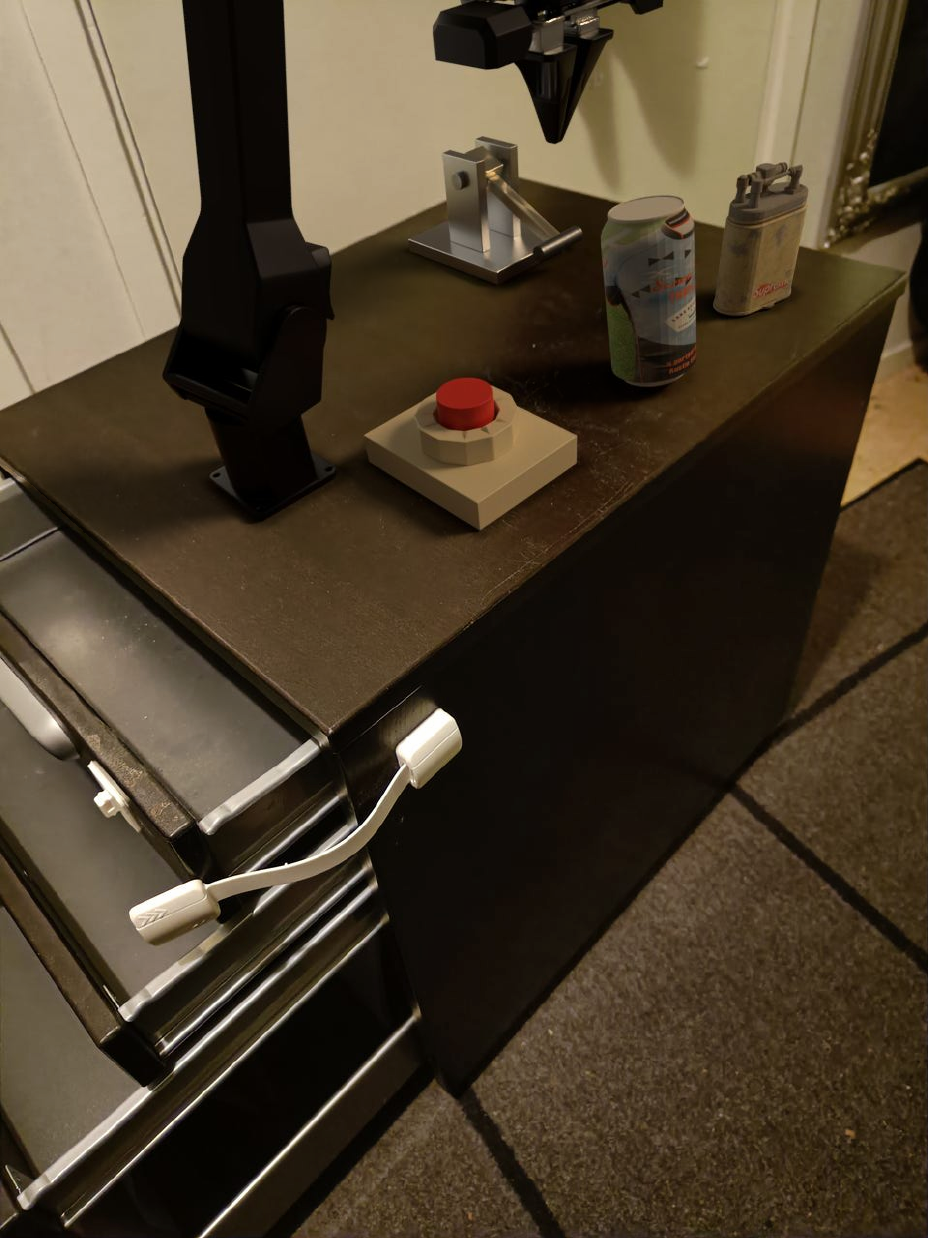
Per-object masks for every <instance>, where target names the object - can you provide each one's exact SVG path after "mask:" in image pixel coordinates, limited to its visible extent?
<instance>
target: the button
mask: <svg viewBox="0 0 928 1238" xmlns="http://www.w3.org/2000/svg"><path fill="white" fill-rule="evenodd" d="M491 386H492V385H491V384H490V383H489V382H487V381H485V380H483V379H481V378H476V377H460V378H454V379H452V380H449V381H447V382H445V383H443V384H441V386H440V387H439V388H438V389H437V390H436V392H435V393H436V402H437V410H438V418H439V422H440V424H441V425H442V426H443V427H445V428H446V429H448V430H456V431H468V430H473V429H478V428H482V427H484V426H486V425H487V424H489V423H491V422H492V420H493V418H494V401H493V389H492V387H491Z"/></svg>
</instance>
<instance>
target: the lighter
mask: <svg viewBox="0 0 928 1238" xmlns="http://www.w3.org/2000/svg"><path fill="white" fill-rule="evenodd" d="M803 171H804V167H803V164H798V165H795V166H791V167H789V165H788V163H787V162H786V161H785V162H779V163H776V164H774V163H770V162H764V163H763V162H762V163H760V164H758V165H756V166H755V172H751V173H748V174H741V175H739V176H738V177H737V178H736V183H735V184H736V185H735V187H736V193H735V197H734V198H733V199H732V201H731V202H730V203H729V206H728V214H727V216H726V218H725V222H724V229H723V236H722V237H723V238H722V243H721V252H720V257H719V266H718V274H717V281H716V288H715V295H714V296H715V297H714V300H713V303H712V307H713V309H714V310H715V311H716V312H717V313H720V314H723V315H726V316H732V317H733V316H735V317H740V316H741V317H742V316H747V315H750V314H753V313H754V312H757V311H759V310H768V309H771V308H773V307H774V306H775V303H778V302H780V301H782V300H785V299H787V298H789V297H790V296H791V293H792V283H793V278H794V273H795V270H796V264H797V261H798V260H797V258H798V255H799V250H800V246H801V245H800V244H801V241H802V236H803V230H804V226H805V219H806V216H807V210H808V204H807V202H808V196H809V188H808V187H807V186H806V185H805V184H803V183H800V181H801V177H802V175H803ZM786 176H788V177H790V181H782V182H775V181H776V180H778V179H781V178H784V177H786ZM774 182H775V183H774ZM749 187H750V190H749V192H748V193H747V189H748V188H749Z"/></svg>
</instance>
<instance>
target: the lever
mask: <svg viewBox="0 0 928 1238" xmlns="http://www.w3.org/2000/svg"><path fill="white" fill-rule="evenodd" d="M464 154H467V155H471V156H474V157H478V158H481V159H484V160H485V174H486V190H487V193H488V192H491V193H492V194H493V195H495V196H496V197H497V198H498V199H499V200H500V201H501V202H502V203H503V204H504V205H505V206H506V207H507V208H508V209H509V210H510V211H511V212H512V213H513V214H515V215H516V216H517V217H518V218H519V219H520V222H522V223H524V224H525V225H526V226H527V227H528V228H529V229H530V230H531V231H532V232H534V233H535V234H536V235H537V236H538V237H539V238H540V239H541V240H542V241H543V242H542V243H540V244H538V245H536V246H535V247H534V248H533V256H534V258H535V259H536V260H537V261H539V262H540V263H542V262H544V261H546V260H548V259H549V258H551V257H553V256H555V255H557V254H559V253H561V252H562V250H563V251H564V249H565V250H566V249H568V248H569V247H571V246H574V245H576V244H577V243H579V242H581V241H582V239H583V231H582V229H581V227H580V226H578V225H573V226H572V227H569V228H567V229H566V230H564V231H561V232H559V231H558V230H557V229H556V228H555V227H554V226H553V225H551V223H550V222H548V221H547V220H546V218H544V217H543V216H542V215H541V214H540V213H539V212H538V211H537V210H536V209H535V208H533V206H532V205H530V203H528V202H527V201H526V200H525V199H524V197H522V196H521V195H520V193H519V194H517V193H516V192H515V191H514V190H513V189H512V188H511V187H510V186H509V185H508V184H507V183H506V182H505V181H504V180H503V179H502V178H500V175H501V172H502V168H503V164H502V163H501V162H500V161H499V160H498V159H496V158H495V157H494V156H493V155H492V154H491V153H490V152H489V151H488V150H487V149H486V148H485V147H484V146H480V147H477V148H475V147H474V148H473V149H470V150H468V151H466V152H464ZM560 251H561V252H560ZM558 252H559V253H558ZM556 253H557V254H556ZM554 254H555V255H554ZM547 258H548V259H547ZM545 259H546V260H545ZM543 260H544V261H543ZM541 261H542V262H541Z"/></svg>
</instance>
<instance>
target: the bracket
mask: <svg viewBox="0 0 928 1238" xmlns="http://www.w3.org/2000/svg"><path fill="white" fill-rule="evenodd" d="M480 146H484V147H485V148H486V149H487V150H488V151H489V152H490V153H491V154H492V155H493V156H494V157H495V158H496V159H498V160H499V161H500V162H501V163H502V164H503V168H502V172H501V175H500V178H502V179H503V180H504V181H505V182H506V183H507V184H508V185H509V186H510V187H511V188H512V189H513V190H514V191H515V192H516V193H517V194H519V195H520V176H519V175H520V174H519V148H518V144H515V143H512V142H507V141H504V140H500V139H496V138H493V137H488V136H483V135H482V136H479V137H477V138H475V139H474V149H475V148H477V147H480ZM441 157H442V168H443V169H442V170H443V179H444V188H445V198H446V199H445V200H446V210H447V220H445V221H444V222H442V223H440V224H437V225H435V226H433V227H431V228H429V229H426V230H424V231H422V232H420V233H418V234H415V235H413V236H412V237H409V238H408V239H407V241H408V248H409V251H410V253H414V254H417V255H419V256H421V257H424V258H426V259H429V260H432V261H434V262H437V263H440V264H442V265H445V266H448V267H450V268H452V269H455V270H457V271H460V272H463V273H466V274H468V275H470V276H473V277H475V278H478V279H481V280H483V281H486V282H489V283H491V284H494V285H496V286H498V285H500V284H503V283H504V282H506V281H508V280H510V279H512V278H514V277H516V276H518V275H520V274H521V273H523V272H525V271H527V270H529V269H531V268H532V267H535V266H536V265H538V264H540V263H542V262H544V261H546V260H548V259H549V258H547V259H545V260H543V261H541V262H539V261H537V260H536V259H535V258H534V256H533V248H534V247H535V246H536V245H538V244H540V243H542V242H543V241H542V240H541V239H540V238H539V237H538V236H537V235H536V234H535V233H534V232H532V231H531V230H530V229H529V228H528V227H527V226H526V225H525V224H524V223H523V222H522V221H521V220H520V219H519V218H518V217H517V216H516V215H515V214H513V213H512V212H511V211H510V210H509V209H508V208H507V207H506V206H505V205H504V204H503V203H502V202H501V201H500V200H499V199H498V198H497V197H496V196H495V195H493V194H492V193H491V192H488V193H487V190H486V174H485V160H484V159H481V158H478V157H474V156H471V155H467V154H465V153H463V152H460V151H456V150H452V149H448V150H446V151H443V152H442V153H441ZM564 250H566V249H564ZM564 250H562V251H564ZM562 251H560V252H558V253H556V254H554V255H553V256H555V255H557V254H559V253H562Z"/></svg>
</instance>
